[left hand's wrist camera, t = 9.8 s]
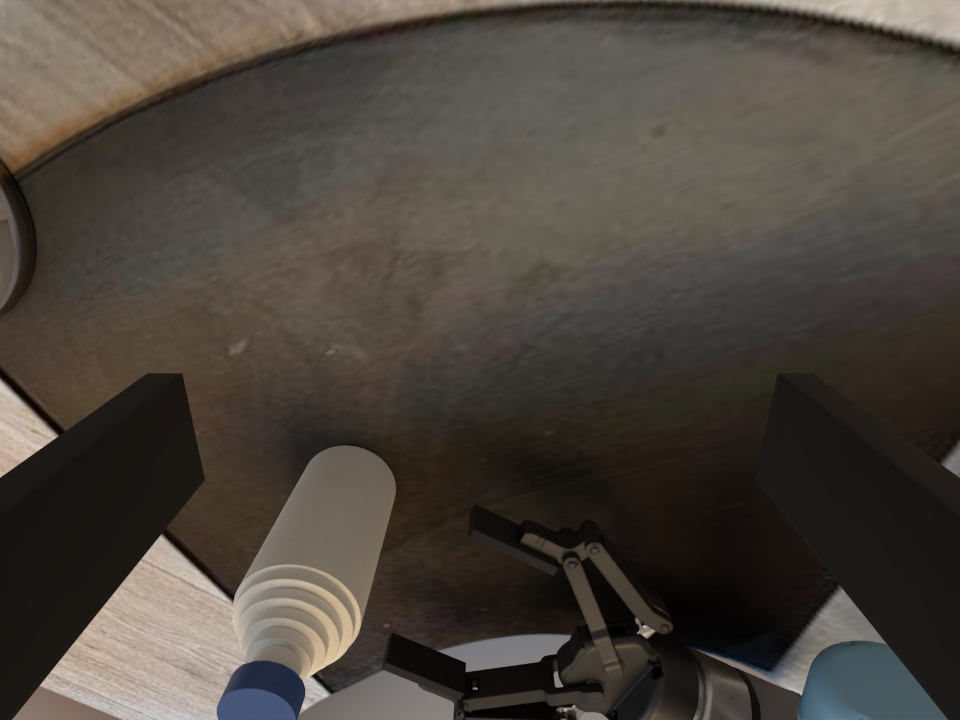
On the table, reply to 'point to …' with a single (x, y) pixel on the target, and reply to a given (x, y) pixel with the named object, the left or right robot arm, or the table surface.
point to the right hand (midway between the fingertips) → (426, 588)
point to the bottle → (317, 563)
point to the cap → (262, 693)
